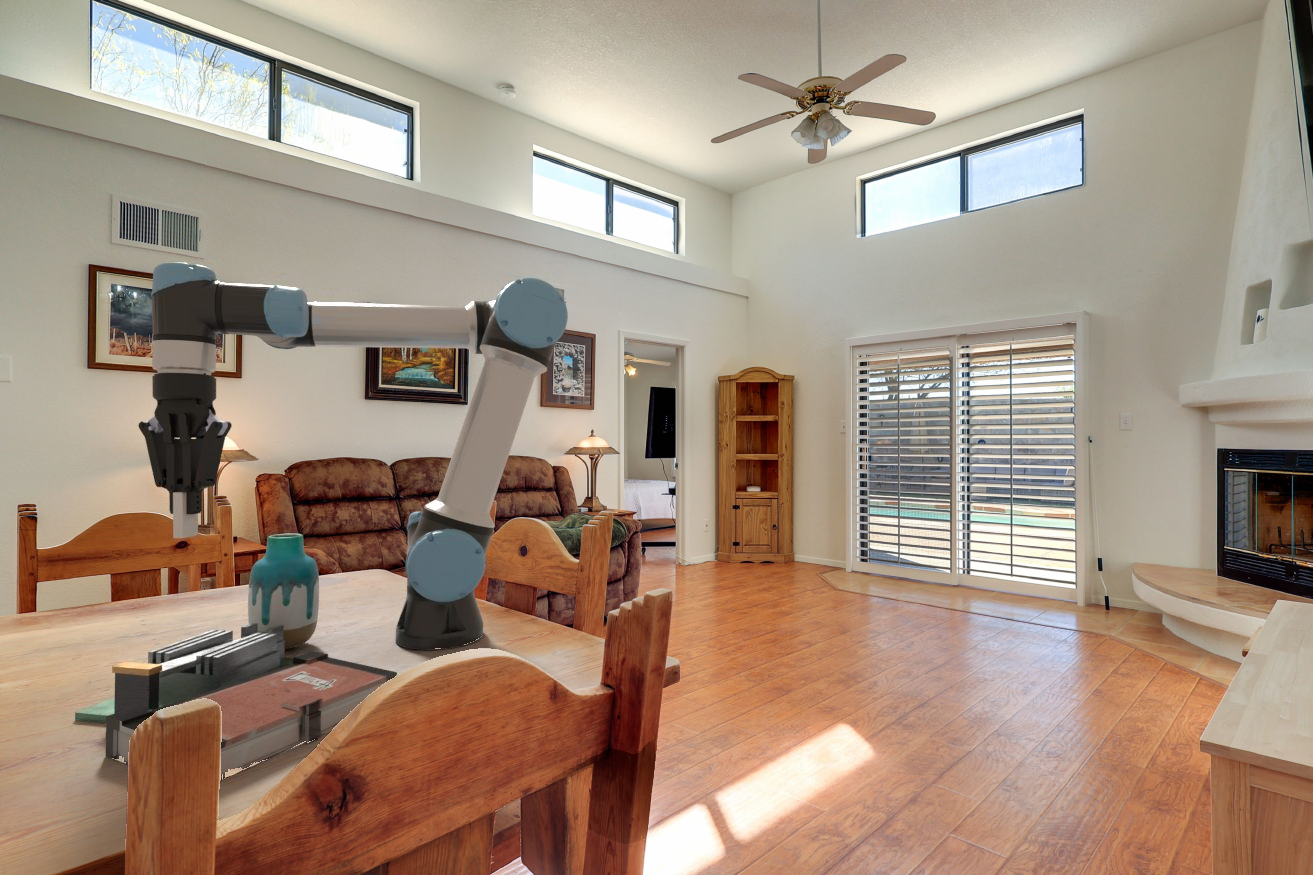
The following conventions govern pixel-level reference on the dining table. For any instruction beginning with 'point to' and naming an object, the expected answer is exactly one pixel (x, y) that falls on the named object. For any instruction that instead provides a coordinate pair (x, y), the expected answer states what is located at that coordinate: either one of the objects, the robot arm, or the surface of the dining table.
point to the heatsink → (192, 670)
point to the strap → (183, 662)
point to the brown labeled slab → (270, 708)
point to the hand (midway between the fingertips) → (185, 536)
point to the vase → (285, 590)
